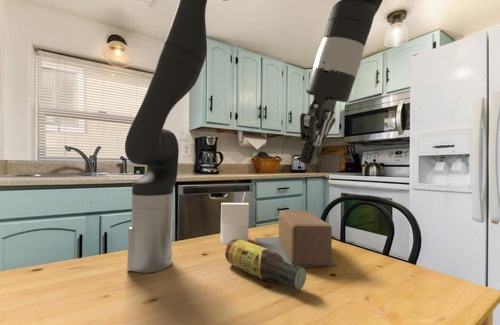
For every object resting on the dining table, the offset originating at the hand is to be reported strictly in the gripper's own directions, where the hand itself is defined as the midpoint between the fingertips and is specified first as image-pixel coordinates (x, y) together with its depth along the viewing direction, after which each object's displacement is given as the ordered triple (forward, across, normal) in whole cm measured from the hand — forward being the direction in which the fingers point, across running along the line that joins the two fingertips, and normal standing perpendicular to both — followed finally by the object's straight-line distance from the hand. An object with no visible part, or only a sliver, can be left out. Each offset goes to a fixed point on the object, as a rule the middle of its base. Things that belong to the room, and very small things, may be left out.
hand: (305, 162), depth 48 cm
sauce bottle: (+28, +1, -11) cm, 30 cm away
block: (+21, -9, +5) cm, 23 cm away
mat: (+30, -16, -2) cm, 35 cm away
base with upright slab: (+37, -14, -19) cm, 44 cm away
